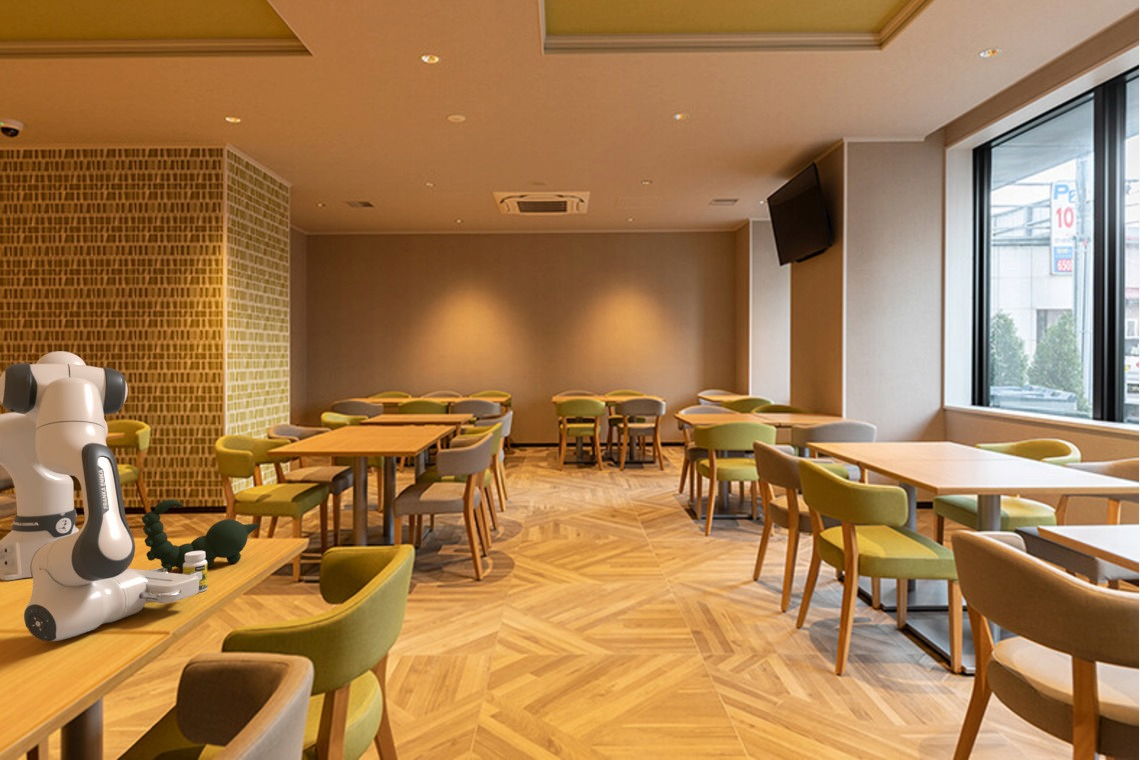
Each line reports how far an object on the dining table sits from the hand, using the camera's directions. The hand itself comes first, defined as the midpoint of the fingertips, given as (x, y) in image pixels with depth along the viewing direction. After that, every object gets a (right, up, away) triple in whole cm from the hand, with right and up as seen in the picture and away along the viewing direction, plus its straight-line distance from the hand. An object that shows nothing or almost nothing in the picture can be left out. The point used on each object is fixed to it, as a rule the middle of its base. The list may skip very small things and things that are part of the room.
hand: (182, 573), depth 144 cm
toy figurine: (-7, -5, +21) cm, 22 cm away
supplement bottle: (+1, -5, +3) cm, 6 cm away
